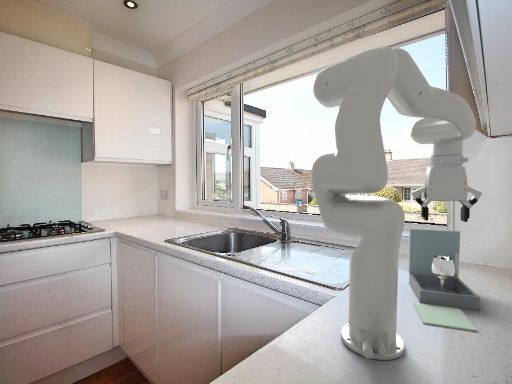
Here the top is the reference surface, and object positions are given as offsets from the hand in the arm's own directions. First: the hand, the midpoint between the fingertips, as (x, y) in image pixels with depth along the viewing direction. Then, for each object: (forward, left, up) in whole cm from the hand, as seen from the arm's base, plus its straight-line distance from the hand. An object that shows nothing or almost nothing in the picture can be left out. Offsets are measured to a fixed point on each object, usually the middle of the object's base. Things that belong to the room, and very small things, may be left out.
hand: (444, 220), depth 80 cm
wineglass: (0, 0, -23) cm, 23 cm away
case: (+1, 0, -23) cm, 23 cm away
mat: (-13, +4, -23) cm, 27 cm away
